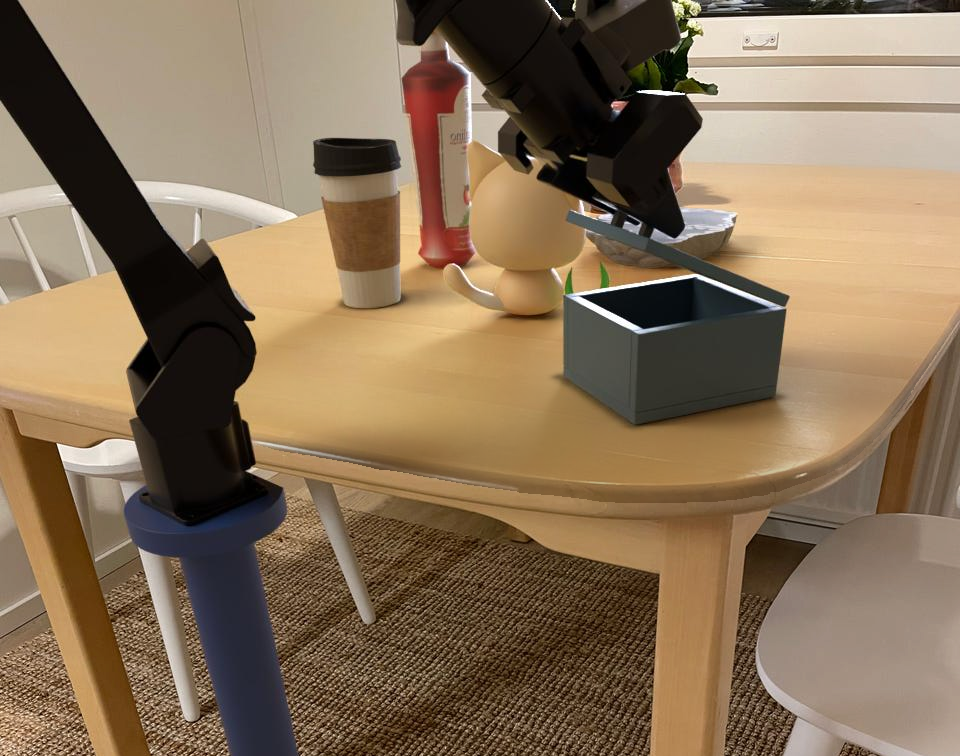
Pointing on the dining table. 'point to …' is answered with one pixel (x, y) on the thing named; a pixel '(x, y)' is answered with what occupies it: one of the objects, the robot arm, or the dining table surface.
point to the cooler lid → (673, 254)
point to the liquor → (440, 152)
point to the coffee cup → (362, 216)
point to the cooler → (672, 346)
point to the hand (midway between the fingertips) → (660, 226)
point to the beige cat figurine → (519, 236)
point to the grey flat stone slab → (697, 239)
